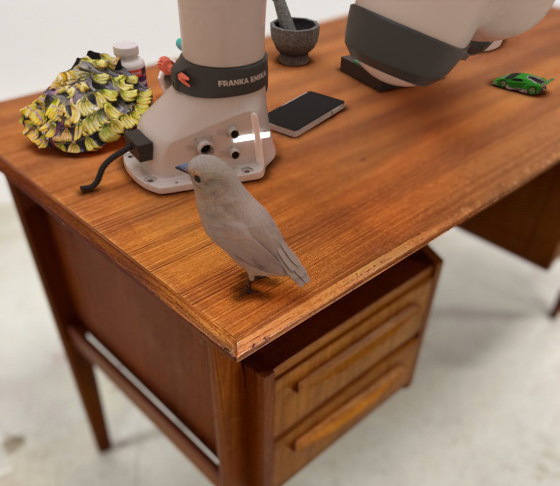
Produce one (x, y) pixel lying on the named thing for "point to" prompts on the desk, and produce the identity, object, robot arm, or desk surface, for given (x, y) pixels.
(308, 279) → the bird
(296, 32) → the mortar and pestle
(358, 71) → the scale
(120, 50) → the pill bottle
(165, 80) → the long cone
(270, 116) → the smartphone
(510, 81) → the toy car
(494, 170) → the desk surface
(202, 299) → the desk surface
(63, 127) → the banana patterned fabric
